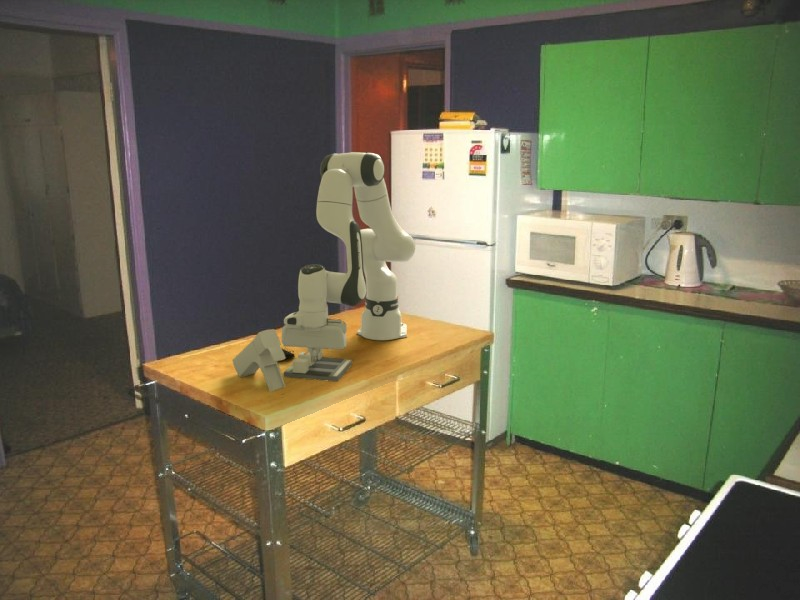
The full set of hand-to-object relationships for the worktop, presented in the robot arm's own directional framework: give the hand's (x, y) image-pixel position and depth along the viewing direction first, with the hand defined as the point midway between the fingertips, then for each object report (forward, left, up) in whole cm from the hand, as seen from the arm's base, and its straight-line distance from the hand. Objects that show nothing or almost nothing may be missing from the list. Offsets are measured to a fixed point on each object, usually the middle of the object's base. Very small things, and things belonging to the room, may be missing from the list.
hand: (314, 360), depth 207 cm
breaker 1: (0, -3, -1) cm, 3 cm away
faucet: (+13, -13, -3) cm, 18 cm away
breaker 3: (-6, -2, -1) cm, 7 cm away
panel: (0, +1, -3) cm, 3 cm away
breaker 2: (+7, -2, -1) cm, 7 cm away
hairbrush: (-14, -19, -4) cm, 24 cm away
